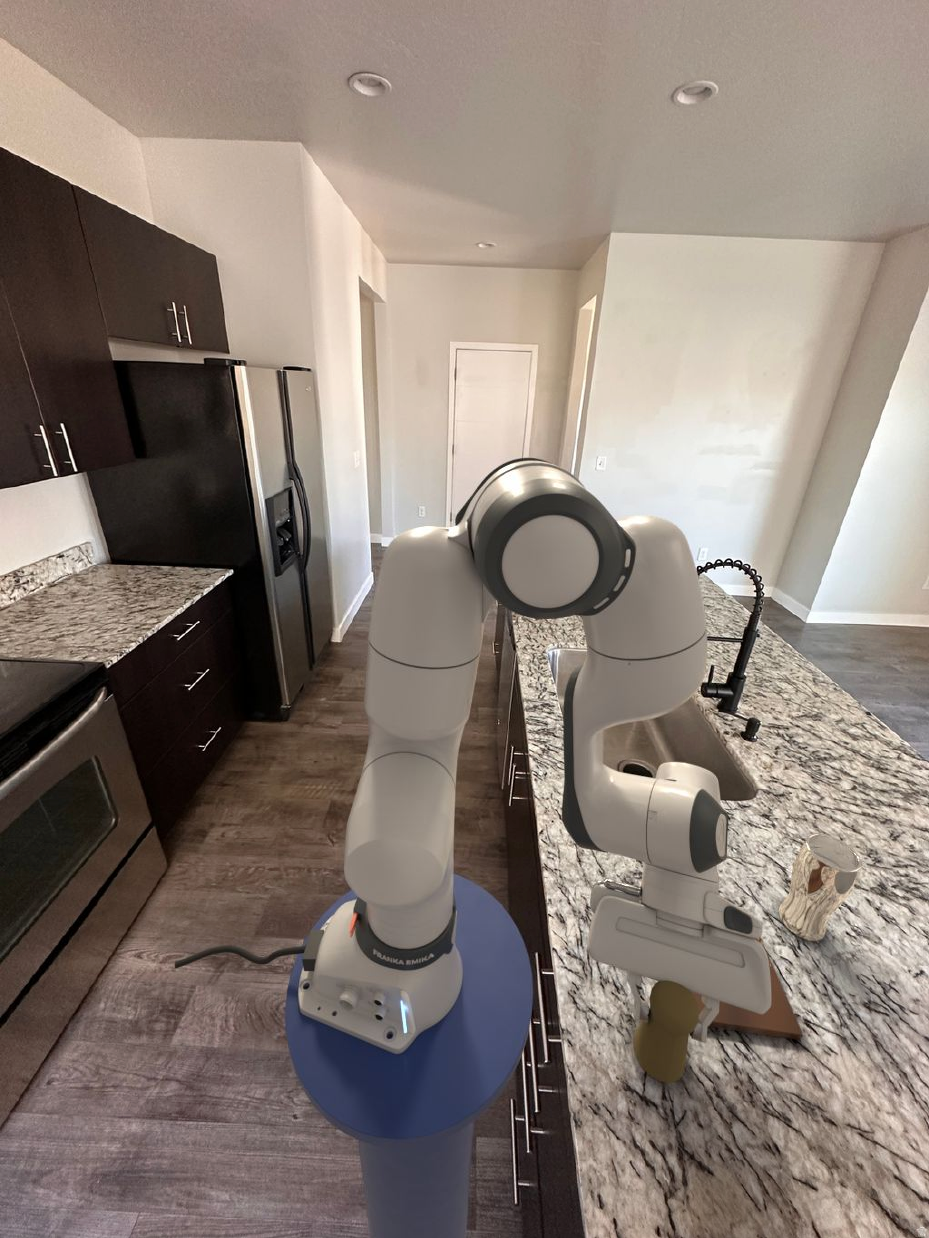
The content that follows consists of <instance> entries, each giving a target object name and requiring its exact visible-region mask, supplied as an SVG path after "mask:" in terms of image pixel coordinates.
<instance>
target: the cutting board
mask: <svg viewBox="0 0 929 1238" xmlns="http://www.w3.org/2000/svg"><path fill="white" fill-rule="evenodd" d="M754 939H756V940H757V941H758V942H759V943H760V944H761V945H762V946H763V947H764V949H765V951H766V954H767V957H768V961H769V968H770V978H771V1007H770V1008H769V1009H768V1010H767V1011H766V1012H765V1013H764V1014H759V1013H756V1012H753V1011H750V1010H747V1009H743V1008H740V1007H737V1006H734V1005H731V1004H728V1003H725V1002H722V1001H720V1002H719V1013H718V1014H717V1016H716V1017H715V1018H714V1020H713V1021H712V1022H711V1024H710V1025H709V1026H707V1028H708V1027H709V1028H714V1029H715V1028H716V1029H722V1030H729V1031H735V1032H736V1031H737V1032H743V1033H749V1034H756V1035H762V1036H770V1037H776V1038H783V1039H788V1040H789V1039H790V1040H796V1041H801V1039H802V1038H803V1036H804V1034H803V1032H802V1030H801V1029H802V1028H801V1027H800V1025H799V1022H798V1020H797V1018H796V1015H795V1013H794V1011H793V1009H792V1007H791V1004H790V1002H789V999H788V997H787V995H786V993H785V991H784V988H783V985H782V984H781V981H780V979H779V977H778V974H777V972H776V970H775V967H774V966H773V963H772V961H771V958H770V956H769V954H768V952H767V949H766V947H765V945H764V942H763V940H762V939H761V938H754ZM690 992H691V991H690ZM691 993H692V995H693V996H694V998H695V1000H696V1002H697V1004H698V1010H699V1015H700V1013H701V1012H702V1010H703V1009H704V1007H705V1005H704V1003H703V1002H702V995H700V994H697V993H694V992H691Z"/></svg>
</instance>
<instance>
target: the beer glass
mask: <svg viewBox="0 0 929 1238" xmlns="http://www.w3.org/2000/svg"><path fill="white" fill-rule="evenodd" d="M862 865H863V863H862V859H861V857H860V855H859V854H858V853H857V852H856V851H855V850H854V848H852V846H851V845H849V844H848V843H846V842H845V841H843V840H841V839H839V838H837V837H835V836H833V835H830V834H827V833H822V832H821V833H820V832H814V833H810V834H809V835H807V836H806V838H805V840H804V842H803V844H802V846H801V847H800V849H799V850H798V853H797V855H796V857H795V860H794V862H793V866H792V870H791V871H792V872H791V877H790V885H789V891H788V894H787V896H786V897H785V899H784V900H783V901H782V902H781V904H780V905H779V907H778V917H779V919H780V921H781V922H782V923H783V925H784V926H785V927H786V928H787V929H788V930H789V931H790V932H791V933H792V934H794V935H795V936H797V937H799V938H801V939H803V940H806V941H809V942H819V941H821V940H823V938H824V937H825V935H826V931H827V924H828V921H829V919H830V917H831V916H832V915H833V914H834V913H835V912H836V910H838V909H839V908H840V907H841V906H842V904H844V902H845V901H846V900H847V898H849V896H850V894H851V893H852V891H853V889H854V887H855V884H856V883H857V879H858V877H859V873H860V870H861V868H862Z"/></svg>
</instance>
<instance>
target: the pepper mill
mask: <svg viewBox="0 0 929 1238" xmlns="http://www.w3.org/2000/svg"><path fill="white" fill-rule="evenodd" d="M647 1016H648V1023H645V1022H642V1021H640V1023H639V1025H638V1026H637V1028H636V1029H635V1031H634V1034H633V1038H632V1043H633V1044H632V1045H633V1046H632V1048H633V1052H634V1055H635V1058H636V1060H637V1062H638V1063H639V1065H640V1067H641V1068H642V1069H643V1070H644V1071H645V1072H646V1073H647V1075H649V1076H650V1077H652V1078H653V1079H655V1080H656V1081H658V1082H662V1083H665V1084H669V1083H671V1084H672V1083H675V1082H677V1081H679V1080H680V1079H681V1078H682V1076H683V1075H684V1073H685V1068H686V1063H687V1052H688V1045H689V1038H690V1037H689V1036H690V1033H691V1032H693V1031H694V1029H695V1028H696V1026H697V1024H698V1019H699V1010H698V1004H697V1002H696V1000H695V998H694V996H693V995H692V993H691V992H690V991H689V989H687V988H686V987H684V986H683V985H681V984H678V983H676V982H672V981H656V982H655V983H654V984H653V986H652V987H651V990H650V994H649V1014H648V1015H647Z"/></svg>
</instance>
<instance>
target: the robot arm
mask: <svg viewBox="0 0 929 1238" xmlns="http://www.w3.org/2000/svg"><path fill="white" fill-rule="evenodd" d="M454 524H455V525H454V526H451V527H450V526H449V527H448V526H447V527H445V526H433V525H429V526H428V525H427V526H419V527H414V528H410V529H408V530H405V531H403V532H401V533H399V534H398V535H396V536H395V537H394V538H393V539H392V540H391V541H390V543H389V544H388V546H387V547H386V550H385V551H384V554H383V559H382V561H381V565H380V569H379V571H378V576H377V580H376V582H375V583H376V584H375V587H374V593H373V597H372V603H371V610H370V617H369V625H368V627H369V628H368V639H367V640H368V641H367V651H366V652H367V653H366V669H365V685H364V697H363V708H364V712H365V714H366V716H367V717H368V718H367V719H368V743H367V749H366V754H365V758H364V763H363V766H362V771H361V774H360V777H359V782H358V785H357V788H356V791H355V795H354V798H353V802H352V806H351V809H350V812H349V816H348V819H347V822H346V829H345V838H344V839H345V840H344V855H343V856H344V857H343V874H344V879H345V881H346V883H347V885H348V887H349V888H350V889H351V890H353V892H354V893H355V894H356V895H357V896H358V898H357V899H356V900H353V901H349V902H346V903H344V904H343V905H342V906H340V907H339V908H338V910H337V911H336V912H335V914H334V915H333V916H332V917H331V918H329V919H328V921H327V922H326V923H325V924H324V925H323V927H322V928H321V929H320V930H319V929H312V928H311V929H310V930H309V933H308V935H309V937H308V940H307V944H306V946H302V945H299V946H292V947H284V948H281V949H277V950H274V951H273V952H271V953H270V954H269V955H268V956H258V955H256V954H254V953H252V952H249V951H248V950H246V949H244V948H242V947H239V946H236V945H229V944H228V945H227V944H226V945H219V946H214V947H209V948H206V949H204V950H201V951H199V952H197V953H194V954H192V955H190V956H186V957H184V958H182V959H179V960H176V961H175V962H174V969H175V970H176V969H179V968H183V967H185V966H188V965H190V964H192V963H195V962H196V961H197V962H198V961H199V960H203V959H204V958H207V957H210V956H213V955H218V954H224V953H226V954H228V953H229V954H234V955H237V956H240V957H242V958H244V959H245V960H247V961H248V962H250V963H253V964H256V965H261V966H262V965H268V964H270V963H271V962H273V961H274V960H275V959H277V958H281V957H285V956H291V955H293V956H294V955H298V954H303V953H304V954H303V958H302V962H303V969H302V973H301V977H300V982H299V990H298V1001H299V1008H300V1012H301V1013H302V1014H304V1015H305V1016H308V1017H310V1018H312V1019H314V1020H317V1021H319V1022H321V1023H324V1024H326V1025H328V1026H331V1027H333V1028H335V1029H338V1030H340V1031H342V1032H345V1033H347V1034H349V1035H352V1036H354V1037H357V1038H359V1039H361V1040H364V1041H366V1042H368V1043H371V1044H373V1045H375V1046H378V1047H380V1048H382V1049H385V1050H387V1051H389V1052H392V1053H394V1054H400V1053H402V1052H404V1051H405V1050H406V1049H407V1048H408V1047H409V1046H410V1044H411V1043H412V1042H413V1041H414V1039H415V1038H416V1037H417V1036H418V1035H419V1034H420V1033H421V1032H423V1031H424V1030H426V1029H428V1028H430V1027H431V1026H433V1025H435V1024H436V1023H438V1022H439V1021H440V1020H441V1019H442V1018H444V1017H445V1015H446V1014H447V1013H448V1012H449V1011H450V1010H451V1008H452V1007H453V1005H454V1004H455V1002H456V1000H457V998H458V995H459V992H460V989H461V985H462V979H463V967H462V961H461V957H460V954H459V952H458V949H457V947H456V945H455V938H456V925H457V911H456V903H455V898H454V894H453V874H454V871H455V870H454V868H455V860H454V850H455V849H454V848H455V847H454V845H455V843H454V841H455V817H456V816H455V814H456V813H455V812H456V808H455V807H456V789H457V788H456V787H457V772H458V771H457V769H458V759H459V753H460V752H459V750H460V746H461V741H462V738H463V733H464V729H465V727H466V724H467V722H468V721H469V719H470V714H471V708H472V704H473V703H472V702H473V697H474V692H475V686H476V681H477V674H478V668H479V662H480V656H481V651H482V644H483V637H484V632H485V631H484V630H485V624H486V620H487V618H488V616H489V613H490V610H491V609H492V607H493V606H494V604H495V603H496V601H497V603H499V604H500V605H501V606H502V607H504V609H505V608H506V609H507V610H509V611H510V612H512V613H514V614H516V615H519V616H521V617H524V618H528V619H529V618H530V619H536V620H556V619H563V618H568V617H573V616H580V617H581V620H582V627H583V632H584V633H583V634H584V638H585V639H584V640H585V643H586V656H585V660H584V663H583V664H581V665H578V666H577V667H574V669H573V670H572V671H571V674H570V676H569V678H568V680H567V682H566V687H565V691H564V694H563V695H564V697H563V711H562V732H563V733H562V735H563V737H562V739H563V741H562V742H563V743H562V745H563V778H564V781H563V783H564V784H563V791H562V800H561V801H562V802H561V804H562V805H561V821H562V824H563V826H564V828H565V830H566V832H567V833H568V835H569V836H570V838H571V839H572V841H573V842H574V843H575V844H576V846H577V847H579V848H580V849H585V850H590V851H594V852H595V851H596V852H601V853H610V854H614V855H618V856H621V857H624V858H628V859H632V860H635V861H640V862H643V865H642V875H641V886H639V885H634V884H630V883H625V882H620V881H617V880H615V879H612V878H604V880H599V881H596V882H595V883H594V885H592V887H591V892H590V897H589V899H590V900H589V905H590V909H591V911H592V917H591V919H590V925H589V930H588V935H587V941H586V950H587V952H588V954H589V956H590V958H591V959H592V960H593V961H595V962H597V963H601V964H603V965H607V966H610V967H613V968H616V969H619V970H622V971H626V979H627V982H628V985H629V988H630V991H631V993H632V996H633V1008H632V1009H633V1010H632V1014H633V1015H632V1016H633V1019H634V1020H636V1021H639V1022H641V1021H642V1022H645V1023H648V1016H647V1015H648V1014H649V1008H650V1004H649V1003H648V1001H646V1000H643V999H642V998H641V997H640V994H639V991H638V988H637V986H639V987H640V986H641V985H642V978H648V979H650V980H653V981H656V982H658V981H672V982H676V983H678V984H681V985H683V986H684V987H686V988H687V989H689V991H691V992H694V993H697V994H700V995H702V1002H703V1003H704V1005H705V1007H704V1009H703V1010H702V1012H701V1013H700V1015H699V1019H698V1024H697V1026H696V1028H695V1029H694V1031H693V1032H691V1033H690V1034H689V1036H690V1038H691V1040H694V1041H697V1042H700V1043H702V1044H706V1043H707V1039H708V1026H709V1025H710V1024H711V1022H712V1021H713V1020H714V1018H715V1017H716V1016H717V1014H718V1013H719V1002H720V1001H722V1002H725V1003H728V1004H731V1005H734V1006H737V1007H740V1008H743V1009H747V1010H750V1011H753V1012H756V1013H759V1014H764V1013H765V1012H766V1011H767V1010H768V1009H769V1008H770V1007H771V978H770V968H769V961H768V957H767V954H768V953H767V954H766V952H767V950H766V951H765V949H766V948H765V949H764V947H765V946H764V947H763V946H762V945H761V944H760V943H759V942H758V941H757V940H756V939H754V938H757V939H761V938H762V936H763V930H764V929H763V928H764V927H763V924H762V923H763V922H762V921H761V920H760V919H759V918H758V917H757V916H755V915H754V914H752V913H751V912H748V911H747V910H745V909H744V908H743V907H740V906H738V905H737V904H736V902H734V901H733V900H731V899H729V898H727V897H724V896H721V894H720V892H719V891H720V876H719V872H718V867H717V866H718V865H720V864H722V863H723V862H725V861H726V860H727V858H728V835H729V820H730V819H729V813H728V812H727V811H726V810H725V809H724V808H723V806H722V802H721V801H722V800H721V791H720V784H719V780H718V777H717V776H716V775H715V774H714V772H712V771H710V770H709V769H707V768H704V767H703V766H700V765H697V764H694V763H690V762H686V761H666V762H663V763H661V764H660V765H659V766H658V769H657V771H656V773H655V774H656V775H655V777H648V776H644V775H643V776H642V775H637V774H632V773H627V772H621V771H618V770H615V769H613V768H611V767H609V766H607V765H606V764H604V731H605V730H607V729H609V728H612V727H613V728H614V727H616V726H619V725H625V724H630V723H636V722H643V721H648V720H653V719H657V718H660V717H662V716H665V715H667V714H669V713H671V712H673V711H675V710H676V709H679V707H681V706H682V705H684V704H685V703H686V702H687V701H688V700H690V699H691V698H692V697H693V696H694V694H695V693H696V692H697V691H698V689H700V687H701V686H702V684H703V682H704V679H705V678H706V672H707V664H708V663H707V662H708V632H707V630H708V629H707V620H706V619H707V618H706V610H705V603H704V597H703V592H702V587H701V584H700V579H699V575H698V574H699V573H698V570H697V566H696V564H695V559H694V557H693V554H692V550H691V548H690V544H689V542H688V538H687V537H686V535H685V534H684V532H683V530H681V528H679V526H678V525H676V524H674V523H673V522H672V521H669V520H668V519H666V518H662V517H658V516H653V515H645V514H642V515H641V514H638V515H629V516H628V515H627V516H624V517H619V518H617V519H615V518H614V517H613V515H612V514H611V513H610V511H609V510H608V509H607V508H606V507H605V505H604V504H603V503H602V502H601V501H600V500H599V499H598V498H597V497H596V496H595V495H594V494H592V493H591V492H589V490H587V489H586V487H585V485H584V484H583V483H582V482H581V480H580V479H578V478H577V477H576V476H575V475H574V474H572V473H571V472H569V471H568V470H566V469H565V468H562V467H560V466H558V465H556V464H553V463H552V462H549V461H547V460H544V459H541V458H537V457H520V458H519V457H518V458H515V459H512V460H508V461H506V462H504V463H502V464H500V465H498V466H497V467H496V468H494V469H493V470H492V471H491V472H489V473H488V474H487V475H486V476H484V478H483V480H482V481H481V482H480V483H479V485H478V486H477V487H476V489H475V490H474V491H473V493H472V494H471V495H470V497H469V498H468V500H467V501H466V502H465V503H464V505H463V506H462V507H461V508H460V510H459V511H458V513H457V514H456V516H455V519H454ZM602 885H603V886H602ZM306 986H309V988H308V989H306V990H305V989H304V988H305V987H306ZM334 1015H336V1016H334ZM390 1034H391V1035H393V1037H392V1039H387V1036H388V1035H390Z"/></svg>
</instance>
